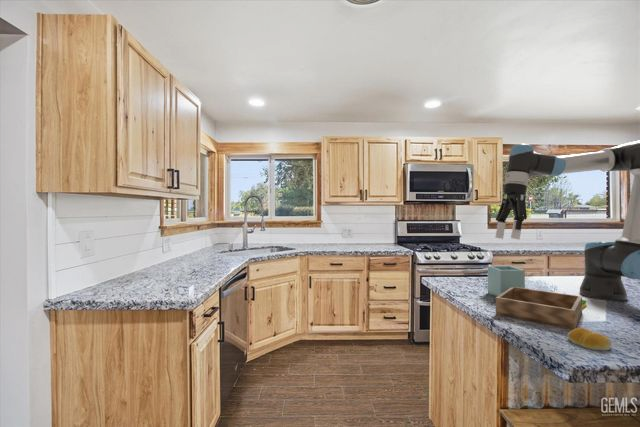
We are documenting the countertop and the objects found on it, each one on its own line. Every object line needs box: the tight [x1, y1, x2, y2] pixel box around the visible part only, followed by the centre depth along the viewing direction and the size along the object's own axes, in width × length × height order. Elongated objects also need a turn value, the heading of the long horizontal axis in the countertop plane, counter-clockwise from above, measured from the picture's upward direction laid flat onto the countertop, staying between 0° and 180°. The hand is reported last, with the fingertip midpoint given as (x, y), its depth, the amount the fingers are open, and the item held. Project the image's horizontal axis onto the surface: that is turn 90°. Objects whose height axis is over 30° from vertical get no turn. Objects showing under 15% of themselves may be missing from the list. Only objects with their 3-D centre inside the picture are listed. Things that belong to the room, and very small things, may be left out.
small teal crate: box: [487, 265, 526, 298], centre depth 138 cm, size 10×10×12 cm
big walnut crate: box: [495, 287, 583, 331], centre depth 114 cm, size 22×22×6 cm
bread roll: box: [567, 327, 612, 352], centre depth 89 cm, size 8×9×4 cm
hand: (506, 238), depth 124 cm, fingers open, 13 cm apart
